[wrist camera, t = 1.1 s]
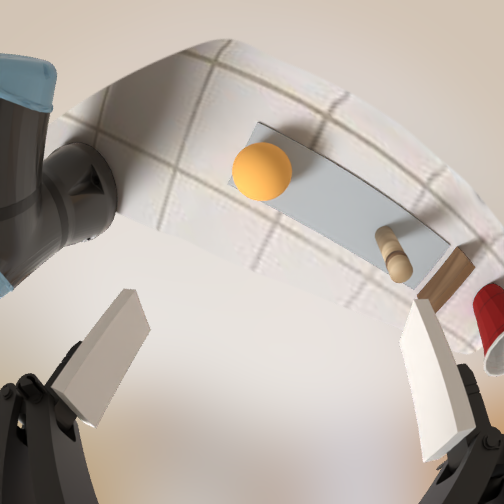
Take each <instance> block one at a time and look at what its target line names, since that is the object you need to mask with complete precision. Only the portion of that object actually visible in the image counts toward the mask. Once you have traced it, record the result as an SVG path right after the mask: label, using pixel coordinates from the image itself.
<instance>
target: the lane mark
mask: <svg viewBox="0 0 504 504" xmlns="http://www.w3.org/2000/svg"><path fill="white" fill-rule="evenodd" d="M260 142H265V143H270V144H273V145H275V146H277V147H279V148H280V149H282V150H283V151H284V152H285V154H286V155H287V156H288V158H289V160H290V163H291V166H292V177H291V181H290V184H289V186H288V187H287V189H286V190H285V191H284V192H283V193H282V194H281V195H280V196H278V197H276V198H274V199H272V200H268V201H261V202H263V203H265V204H267V205H268V206H270V207H272V208H274V209H276V210H278V211H280V212H282V213H283V214H285V215H287V216H289V217H291V218H293V219H294V220H296V221H298V222H300V223H302V224H303V225H305V226H307V227H309V228H311V229H312V230H314V231H316V232H318V233H320V234H321V235H323V236H325V237H327V238H328V239H330V240H332V241H334V242H335V243H337V244H339V245H340V246H342V247H344V248H346V249H347V250H349V251H351V252H352V253H354V254H356V255H358V256H359V257H361V258H363V259H364V260H366V261H368V262H369V263H371V264H373V265H374V266H376V267H377V268H379V269H381V270H382V271H384V272H386V273H387V274H389V272H388V270H387V268H386V264H385V261H384V259H383V256H382V254H381V251H380V249H379V247H378V244H377V242H376V240H375V232H376V230H377V229H378V228H380V227H382V226H388V227H390V228H391V229H392V231H393V232H394V234H395V236H396V238H397V239H398V241H399V243H400V245H401V246H402V248H403V250H404V252H405V253H406V255H407V256H408V258H409V260H410V263H411V265H412V267H413V274H412V276H411V277H410V279H409V280H407V281H406V282H403V284H405V285H407V286H408V287H410V288H411V289H413V290H414V289H415V288H416V287H417V286H418V285H419V284H420V282H421V281H422V280H423V279H424V278H425V276H426V275H427V274H428V273H429V272H430V270H431V269H432V268H433V267H434V266H435V264H436V263H437V262H438V261H439V259H440V258H441V257H442V255H443V254H444V253H445V252H446V250H447V249H448V248H449V246H450V245H449V244H448V243H447V242H445V241H444V240H443V239H442V238H441V237H439V236H438V235H437V234H436V233H434V232H433V231H432V230H431V229H429V228H428V227H427V226H426V225H424V224H423V223H422V222H420V221H419V220H418V219H416V218H415V217H414V216H412V215H411V214H410V213H408V212H407V211H406V210H404V209H403V208H401V207H400V206H399V205H397V204H396V203H394V202H393V201H392V200H390V199H389V198H387V197H386V196H384V195H383V194H381V193H380V192H379V191H377V190H376V189H374V188H373V187H371V186H370V185H368V184H367V183H365V182H363V181H362V180H360V179H359V178H357V177H356V176H354V175H352V174H351V173H349V172H348V171H346V170H344V169H343V168H341V167H339V166H338V165H336V164H335V163H333V162H331V161H329V160H328V159H326V158H324V157H323V156H321V155H319V154H317V153H316V152H314V151H312V150H310V149H308V148H307V147H305V146H303V145H301V144H299V143H297V142H296V141H294V140H292V139H290V138H288V137H286V136H284V135H282V134H280V133H278V132H276V131H274V130H272V129H270V128H268V127H266V126H264V125H262V124H260V123H257V125H256V127H255V129H254V131H253V133H252V135H251V137H250V139H249V141H248V143H247V145H246V147H247V146H249V145H251V144H254V143H260ZM228 185H230V186H232V187H234V188H236V189H238V188H237V186H236V185H235V182H234V180H233V175H232V176H231V178H230V180H229V182H228ZM238 190H239V189H238ZM389 275H390V274H389Z"/></svg>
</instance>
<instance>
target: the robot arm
mask: <svg viewBox="0 0 504 504" xmlns="http://www.w3.org/2000/svg"><path fill="white" fill-rule="evenodd" d="M56 80H57V72H56V69H55V67H54V66H53V64H51V63H50V62H48V61H46V60H42V59H38V58H33V57H27V56H20V55H13V54H2V53H0V299H1V298H2V297H3V296H4V295H6V294H7V293H8V292H10V291H13V290H14V288H15V287H16V286H17V285H19V284H20V283H21V282H22V281H23V280H24V279H25V278H26V277H28V276H29V275H30V274H31V273H32V272H33V271H34V270H36V269H37V268H38V267H39V266H40V265H41V264H43V263H44V262H45V261H46V260H48V259H49V258H50V257H51V256H53V255H54V254H55V253H56V252H57V251H59V250H60V249H62V248H63V247H65V246H69V245H73V244H76V243H78V242H85V241H89V240H92V239H94V238H96V237H97V236H99V235H100V234H102V233H103V232H104V231H105V230H107V229H108V227H109V226H110V225H111V223H112V221H113V219H114V216H115V213H116V207H117V193H116V186H115V182H114V178H113V175H112V173H111V170H110V168H109V166H108V164H107V163H106V161H105V160H104V158H103V157H102V156H101V155H100V154H99V153H98V152H97V151H96V150H95V149H94V148H92V147H91V146H89V145H87V144H84V143H71V144H68V145H65V146H62V147H60V148H58V149H56V150H55V151H53V152H52V153H51V154H50V155H49V157H47V158H46V159H45V160H44V161H43V158H44V149H45V142H46V135H47V128H48V123H49V117H50V113H51V112H52V110H53V105H52V101H53V95H54V90H55V84H56ZM149 332H150V327H149V324H148V322H147V319H146V317H145V314H144V311H143V309H142V306H141V304H140V301H139V298H138V295H137V292H136V290H132V289H123V291H122V292H121V293H120V294H119V295H118V297H117V298H116V299H115V300H114V301H113V303H112V304H111V305H110V307H109V308H108V309H107V310H106V312H105V313H104V314H103V316H102V317H101V318H100V319H99V321H98V322H97V323H96V325H95V326H94V327H93V329H92V330H91V331H90V332H89V334H88V335H87V337H86V338H85V339H84V341H79V342H78V343H77V344H75V345H74V346H73V347H72V348H71V349H70V350H69V352H68V353H67V354H66V357H64V359H63V360H62V363H60V364H59V366H58V367H57V368H56V370H55V371H54V373H53V374H52V376H51V377H50V378H49V380H48V381H47V383H46V384H45V386H44V385H43V384H42V383H41V382H40V381H39V379H38V378H37V377H36V376H35V375H34V374H32V373H30V374H25V375H23V376H22V377H21V378H20V379H19V380H18V382H17V383H16V386H15V385H14V384H13V383H8V384H6V385H4V386H3V387H2V388H1V390H0V504H98V501H97V498H96V495H95V492H94V489H93V486H92V482H91V479H90V475H89V472H88V468H87V464H86V461H85V457H84V452H83V448H82V444H81V439H80V434H79V429H78V424H77V422H76V421H75V419H76V417H78V418H79V419H80V420H81V421H82V422H83V423H86V424H87V425H90V426H92V427H94V428H97V426H98V424H99V422H100V420H101V418H102V416H103V414H104V412H105V410H106V409H107V407H108V405H109V403H110V401H111V399H112V397H113V396H114V394H115V392H116V390H117V388H118V386H119V385H120V383H121V381H122V379H123V377H124V375H125V374H126V372H127V370H128V368H129V367H130V365H131V363H132V361H133V360H134V358H135V356H136V354H137V352H138V351H139V349H140V347H141V346H142V344H143V342H144V340H145V339H146V337H147V335H148V334H149ZM399 343H400V347H401V351H402V354H403V359H404V362H405V366H406V371H407V374H408V379H409V383H410V388H411V392H412V397H413V402H414V407H415V412H416V418H417V423H418V429H419V436H420V442H421V450H422V458H423V463H424V462H429V461H433V460H437V459H440V458H441V457H443V456H444V455H445V454H446V453H447V457H448V459H447V460H446V461H445V462H444V463H442V464H441V465H440V466H439V467H438V468H437V469H436V470H439V469H441V468H442V469H441V470H440V472H439V474H438V475H437V477H436V478H435V480H434V482H433V483H432V485H431V486H430V488H429V490H428V491H427V492H426V494H425V495H424V497H423V498H422V500H421V501H420V502H419V504H504V434H501V432H500V431H499V430H498V429H497V428H495V427H492V426H491V424H490V422H489V418H488V415H487V412H486V408H485V405H484V402H483V399H482V396H481V394H480V393H479V392H480V390H479V387H478V385H477V382H476V379H475V377H474V374H473V372H472V371H471V370H470V368H469V367H468V366H467V365H466V364H459V365H456V363H455V360H454V357H453V355H452V352H451V349H450V347H449V344H448V342H447V340H446V337H445V335H444V332H443V330H442V328H441V326H440V323H439V321H438V319H437V317H436V314H435V312H434V310H433V308H432V306H431V304H430V302H429V300H428V299H414V300H413V304H412V307H411V310H410V313H409V316H408V319H407V322H406V325H405V328H404V330H403V333H402V336H401V339H400V341H399ZM18 420H19V421H20V422H21V423H22V424H23V425H22V428H20V427H18V426H17V423H18Z"/></svg>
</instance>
